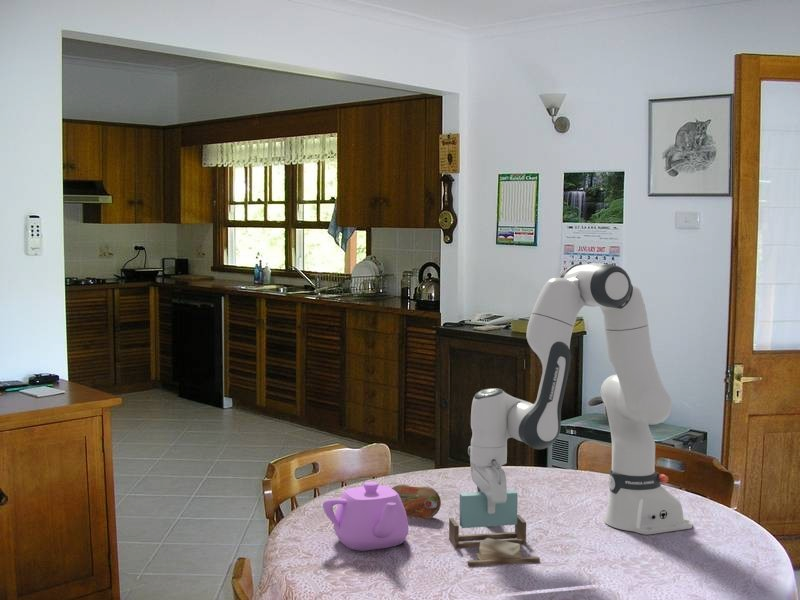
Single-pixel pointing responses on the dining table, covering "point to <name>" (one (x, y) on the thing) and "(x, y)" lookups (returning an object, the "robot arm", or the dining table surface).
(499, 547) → the offcut top
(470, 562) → the rack
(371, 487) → the teapot
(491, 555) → the offcut middle
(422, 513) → the tin
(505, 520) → the board
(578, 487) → the dining table surface
